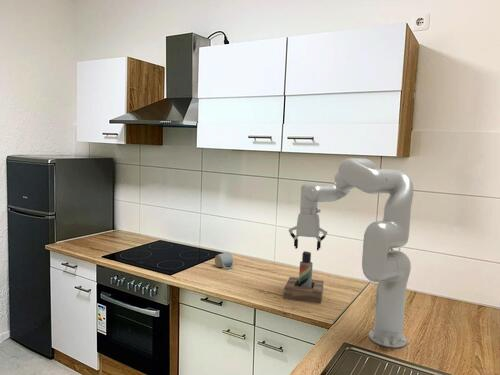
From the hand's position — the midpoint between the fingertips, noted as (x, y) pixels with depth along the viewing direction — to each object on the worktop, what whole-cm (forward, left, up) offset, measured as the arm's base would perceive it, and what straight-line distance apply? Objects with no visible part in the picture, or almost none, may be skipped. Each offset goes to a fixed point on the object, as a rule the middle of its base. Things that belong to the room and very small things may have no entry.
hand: (307, 249), depth 172 cm
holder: (0, 0, -21) cm, 21 cm away
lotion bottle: (0, 0, -22) cm, 22 cm away
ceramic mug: (+28, +47, -22) cm, 59 cm away
